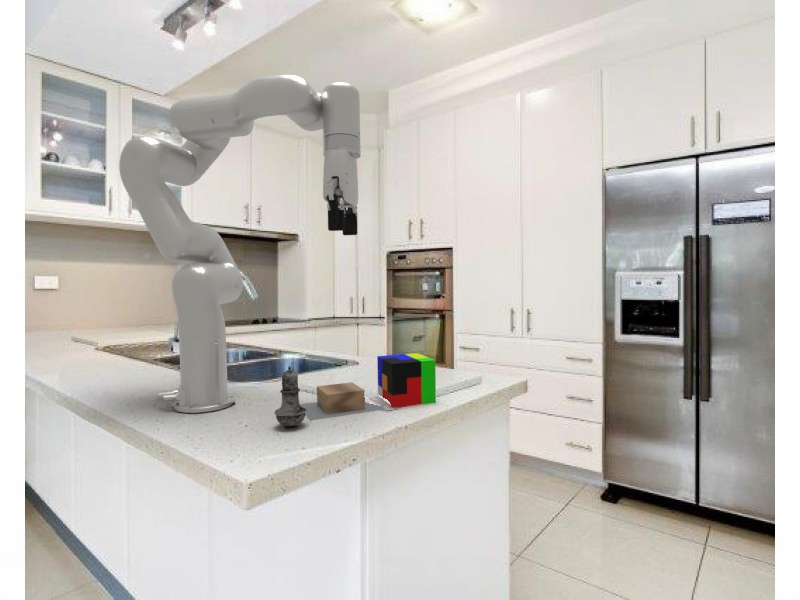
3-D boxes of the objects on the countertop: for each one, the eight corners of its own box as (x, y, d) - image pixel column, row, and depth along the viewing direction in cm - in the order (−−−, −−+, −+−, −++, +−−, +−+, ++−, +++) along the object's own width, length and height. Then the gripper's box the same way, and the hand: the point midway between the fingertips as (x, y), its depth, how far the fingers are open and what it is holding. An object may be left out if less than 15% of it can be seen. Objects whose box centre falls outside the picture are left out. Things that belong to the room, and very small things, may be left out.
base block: (327, 414, 90) (326, 394, 90) (317, 404, 98) (316, 386, 97) (364, 409, 94) (364, 390, 93) (352, 399, 101) (351, 382, 101)
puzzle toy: (378, 399, 104) (377, 356, 103) (417, 394, 107) (417, 353, 107) (392, 410, 95) (391, 363, 94) (435, 405, 98) (435, 360, 98)
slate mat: (309, 423, 87) (309, 420, 87) (296, 407, 98) (296, 404, 98) (386, 411, 94) (386, 409, 94) (365, 398, 104) (365, 395, 104)
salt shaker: (270, 428, 84) (268, 365, 83) (299, 422, 87) (298, 361, 87) (281, 437, 79) (279, 370, 79) (312, 430, 83) (311, 366, 82)
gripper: (337, 160, 101) (338, 237, 102) (309, 137, 84) (311, 229, 85) (369, 158, 100) (370, 236, 101) (347, 134, 83) (349, 228, 84)
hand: (343, 232), depth 93 cm, fingers open, 9 cm apart
